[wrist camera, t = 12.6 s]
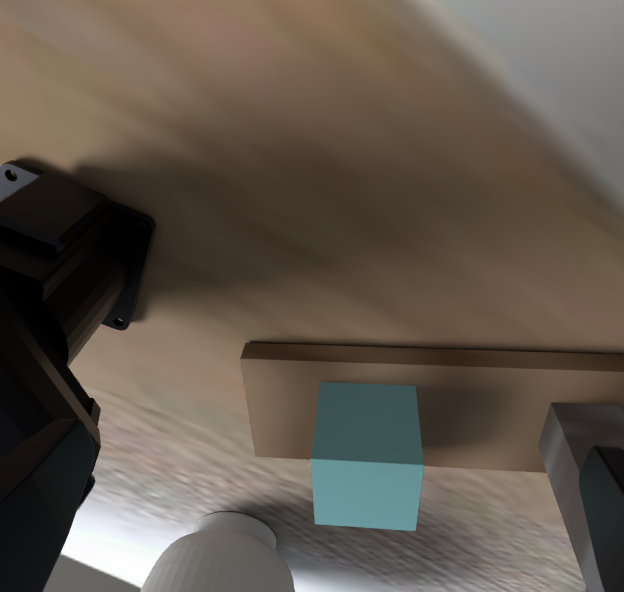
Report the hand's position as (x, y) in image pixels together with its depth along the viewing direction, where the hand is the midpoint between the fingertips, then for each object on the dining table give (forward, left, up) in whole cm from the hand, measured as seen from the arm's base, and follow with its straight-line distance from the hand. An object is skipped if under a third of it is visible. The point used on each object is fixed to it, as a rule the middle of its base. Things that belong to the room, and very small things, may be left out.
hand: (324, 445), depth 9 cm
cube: (-10, -6, -12) cm, 17 cm away
